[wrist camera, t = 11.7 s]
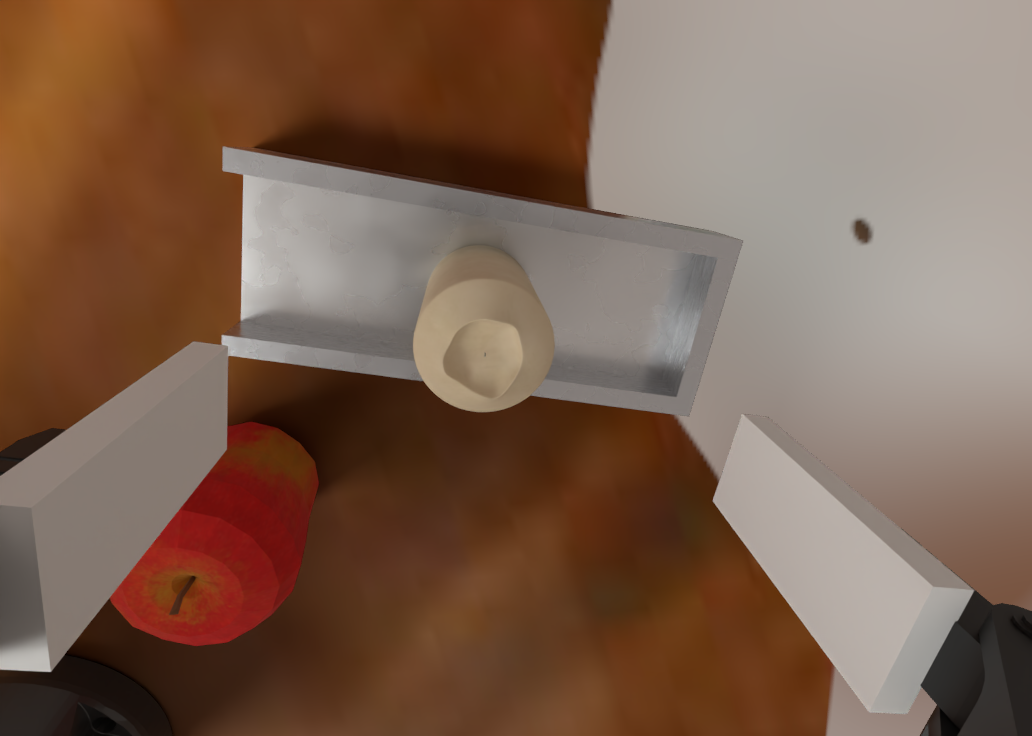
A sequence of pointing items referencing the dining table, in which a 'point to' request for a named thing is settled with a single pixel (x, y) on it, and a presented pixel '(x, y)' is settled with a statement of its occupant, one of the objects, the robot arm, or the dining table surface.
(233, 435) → the apple
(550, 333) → the candle
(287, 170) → the gray tray
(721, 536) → the dining table surface
